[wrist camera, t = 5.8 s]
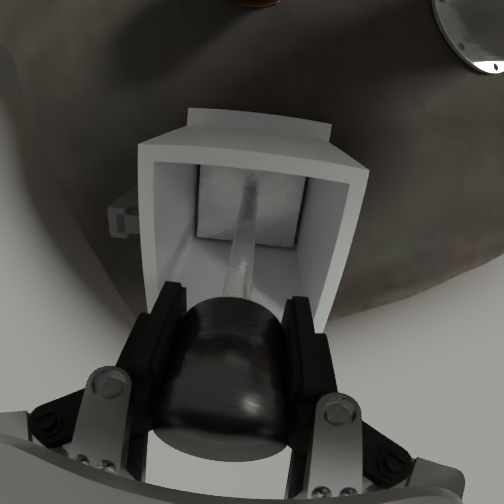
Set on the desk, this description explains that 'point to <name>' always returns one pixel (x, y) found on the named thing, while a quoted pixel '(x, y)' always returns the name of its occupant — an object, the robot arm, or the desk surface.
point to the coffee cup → (256, 2)
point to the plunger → (233, 329)
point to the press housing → (218, 251)
